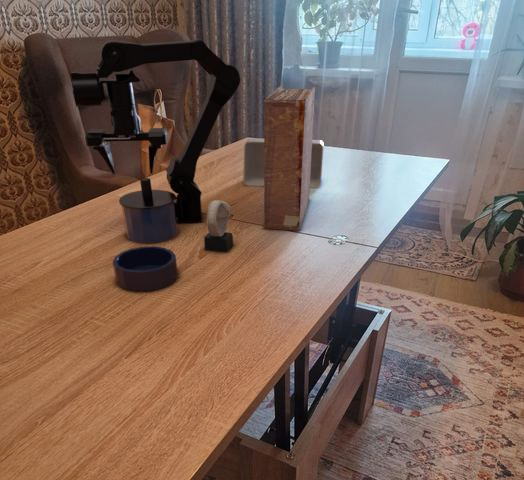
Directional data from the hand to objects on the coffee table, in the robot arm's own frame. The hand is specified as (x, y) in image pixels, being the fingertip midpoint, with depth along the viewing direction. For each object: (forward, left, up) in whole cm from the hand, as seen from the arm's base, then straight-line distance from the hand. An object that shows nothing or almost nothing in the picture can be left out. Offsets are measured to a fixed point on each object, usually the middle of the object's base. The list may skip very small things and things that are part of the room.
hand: (133, 173), depth 120 cm
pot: (-4, +7, -13) cm, 15 cm away
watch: (-21, +17, -13) cm, 30 cm away
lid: (-4, +7, -4) cm, 9 cm away
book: (-40, -5, -13) cm, 42 cm away
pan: (-6, +32, -13) cm, 35 cm away
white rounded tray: (-42, -38, -13) cm, 58 cm away
